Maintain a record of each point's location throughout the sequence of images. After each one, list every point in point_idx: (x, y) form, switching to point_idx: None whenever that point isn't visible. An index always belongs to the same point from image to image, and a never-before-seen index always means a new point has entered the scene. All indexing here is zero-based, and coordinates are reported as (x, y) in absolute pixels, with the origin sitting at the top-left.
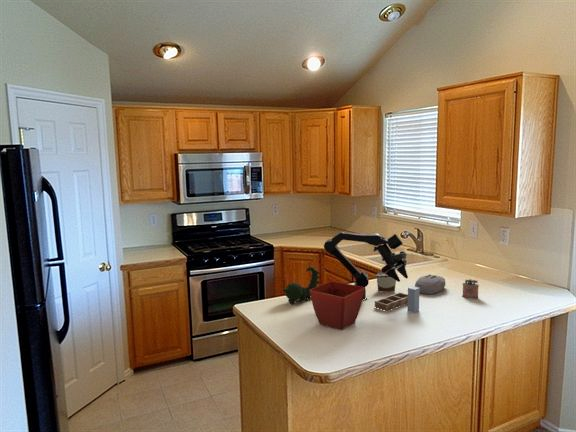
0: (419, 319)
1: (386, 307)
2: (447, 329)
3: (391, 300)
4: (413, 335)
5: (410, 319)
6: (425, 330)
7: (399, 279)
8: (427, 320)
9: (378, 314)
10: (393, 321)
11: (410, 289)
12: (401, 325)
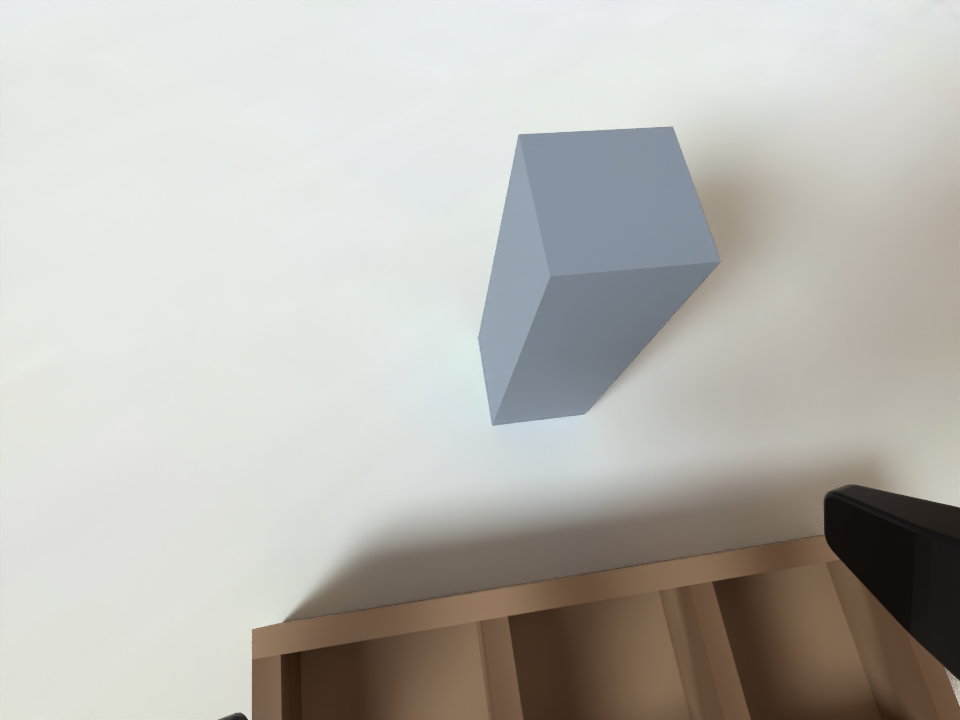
0: None
1: None
2: (593, 4)
3: (715, 644)
4: (880, 71)
5: None
6: (748, 70)
7: (885, 502)
8: None
9: None
10: (889, 305)
11: (692, 219)
12: (867, 213)
